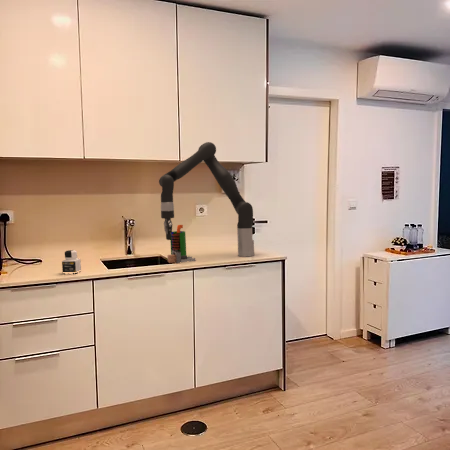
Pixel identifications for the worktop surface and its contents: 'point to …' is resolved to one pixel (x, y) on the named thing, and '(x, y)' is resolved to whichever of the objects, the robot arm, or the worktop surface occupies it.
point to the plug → (173, 259)
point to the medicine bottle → (71, 262)
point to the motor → (178, 241)
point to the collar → (178, 257)
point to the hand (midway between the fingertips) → (168, 239)
